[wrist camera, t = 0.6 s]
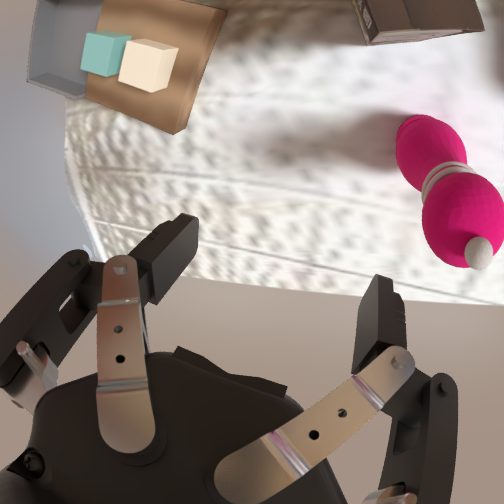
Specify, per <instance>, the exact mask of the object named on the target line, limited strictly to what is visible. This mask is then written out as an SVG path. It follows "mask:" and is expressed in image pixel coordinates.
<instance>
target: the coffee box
mask: <svg viewBox="0 0 504 504" xmlns="http://www.w3.org/2000/svg"><path fill="white" fill-rule="evenodd" d="M351 2H352V5H353V7H354V10H355V12H356V15H357V17H358V20H359V23H360V26H361V28H362V31H363V34H364V37H365V40H366V44H367V45H368V46H374V45H383V44H393V43H406V42H418V41H423V40H427V39H432V38H438V37H444V36H451V35H456V34H463V33H472V32H483V31H485V29H484V25H483V21H482V18H481V15H480V12H479V9H478V7H477V4H476V1H475V0H351Z"/></svg>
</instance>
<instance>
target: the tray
mask: <svg viewBox="0 0 504 504" xmlns="http://www.w3.org/2000/svg"><path fill="white" fill-rule="evenodd" d="M103 2H104V0H38V1H37V5H36V10H35V15H34V21H33V26H32V33H31V40H30V48H29V58H28V69H27V82H28V83H31V84H34V85H37V86H40V87H43V88H45V89H48V90H51V91H53V92H56V93H59V94H61V95H64V96H66V97H69V98H72V99H74V100H78V99H80V98H83V97H85V93H86V85H87V78H88V71H85V70H82V69H80V68H81V62H82V56H83V50H84V44H85V39H86V35H87V33H88V32H95V31H96V30H97V25H98V21H99V17H100V13H101V10H102V6H103Z"/></svg>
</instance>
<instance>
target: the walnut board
mask: <svg viewBox="0 0 504 504" xmlns="http://www.w3.org/2000/svg"><path fill="white" fill-rule="evenodd" d="M226 14H227V11H225V10H221V9H218V8H214V7H210V6H206V5H202V4H198V3H193V2H188V1H184V0H104V2H103V6H102V10H101V13H100V17H99V21H98V25H97V30H96V31H102V30H106V31H111V32H117V33H122V34H126V35H131V36H132V37H131V40H136V39H148V40H152V41H156V42H159V43H163V44H167V45H170V46H173V47H177V48H179V49H178V52H177V55H176V59H175V62H174V65H173V68H172V72H171V75H170V78H169V82H168V86H167V88H164V89H161V90H158V91H155V92H152V93H150V92H148V91H145V90H142V89H140V88H137V87H134V86H131V85H129V84H126V83H123V82H120V81H118V79H119V74H120V73H118V74H115V75H111V76H108V77H105V76H102V75H99V74H95V73H92V72H89V71H88V78H87V85H86V93H85V98H87V99H89V100H92V101H95V102H97V103H100V104H102V105H105V106H107V107H110V108H112V109H114V110H117V111H119V112H122V113H124V114H126V115H129V116H131V117H133V118H136V119H138V120H140V121H143V122H145V123H147V124H149V125H152V126H154V127H156V128H158V129H161V130H163V131H165V132H167V133H169V134H172V135H174V134H176V133H178V132H180V131H181V130H183V129H185V128H186V126H187V122H188V119H189V116H190V112H191V109H192V106H193V103H194V100H195V97H196V94H197V91H198V88H199V85H200V82H201V79H202V76H203V73H204V70H205V68H206V65H207V62H208V59H209V57H210V54H211V51H212V49H213V46H214V43H215V41H216V38H217V36H218V33H219V31H220V28H221V26H222V23H223V21H224V19H225V16H226Z"/></svg>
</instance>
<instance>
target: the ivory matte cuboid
mask: <svg viewBox="0 0 504 504" xmlns="http://www.w3.org/2000/svg"><path fill="white" fill-rule="evenodd" d="M178 49H179V48H177V47H173V46H170V45H167V44H163V43H159V42H156V41H152V40H148V39H136V40H129V41H127V43H126V47H125V51H124V55H123V60H122V64H121V69H120V74H119V79H118V81H120V82H123V83H126V84H129V85H131V86H134V87H137V88H140V89H142V90H145V91H148V92H150V93H152V92H155V91H158V90H161V89H164V88H167V86H168V82H169V78H170V75H171V72H172V68H173V65H174V62H175V59H176V55H177V52H178Z"/></svg>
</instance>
